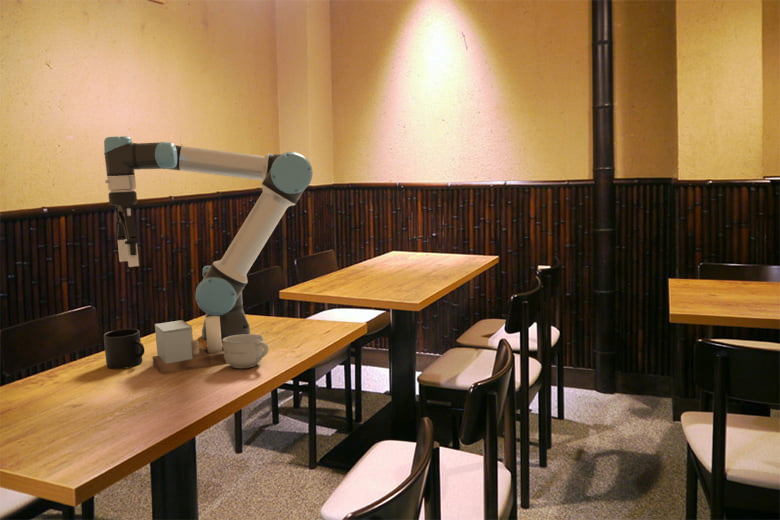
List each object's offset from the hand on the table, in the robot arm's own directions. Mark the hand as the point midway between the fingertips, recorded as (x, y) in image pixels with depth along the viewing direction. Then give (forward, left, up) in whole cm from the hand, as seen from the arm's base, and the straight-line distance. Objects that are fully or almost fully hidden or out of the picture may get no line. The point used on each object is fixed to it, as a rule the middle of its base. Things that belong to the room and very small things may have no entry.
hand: (129, 263), depth 197 cm
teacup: (-22, +35, -27) cm, 49 cm away
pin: (-17, +22, -27) cm, 39 cm away
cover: (-6, +22, -24) cm, 33 cm away
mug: (+5, +12, -27) cm, 30 cm away
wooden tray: (-11, +22, -27) cm, 36 cm away
